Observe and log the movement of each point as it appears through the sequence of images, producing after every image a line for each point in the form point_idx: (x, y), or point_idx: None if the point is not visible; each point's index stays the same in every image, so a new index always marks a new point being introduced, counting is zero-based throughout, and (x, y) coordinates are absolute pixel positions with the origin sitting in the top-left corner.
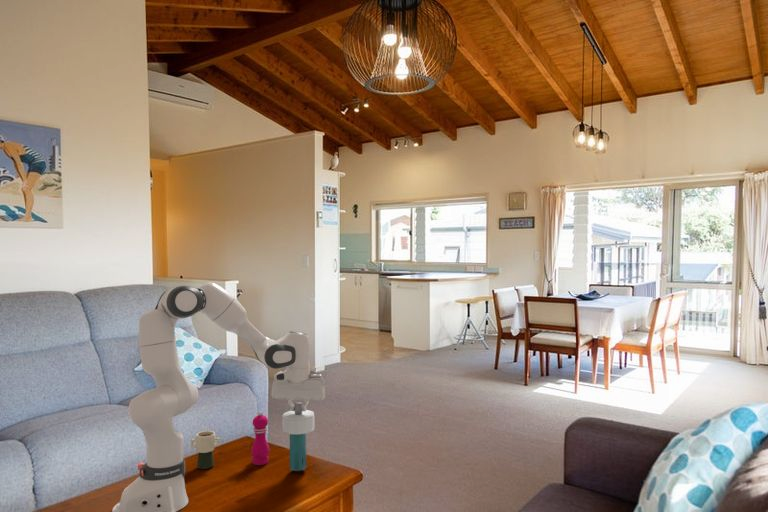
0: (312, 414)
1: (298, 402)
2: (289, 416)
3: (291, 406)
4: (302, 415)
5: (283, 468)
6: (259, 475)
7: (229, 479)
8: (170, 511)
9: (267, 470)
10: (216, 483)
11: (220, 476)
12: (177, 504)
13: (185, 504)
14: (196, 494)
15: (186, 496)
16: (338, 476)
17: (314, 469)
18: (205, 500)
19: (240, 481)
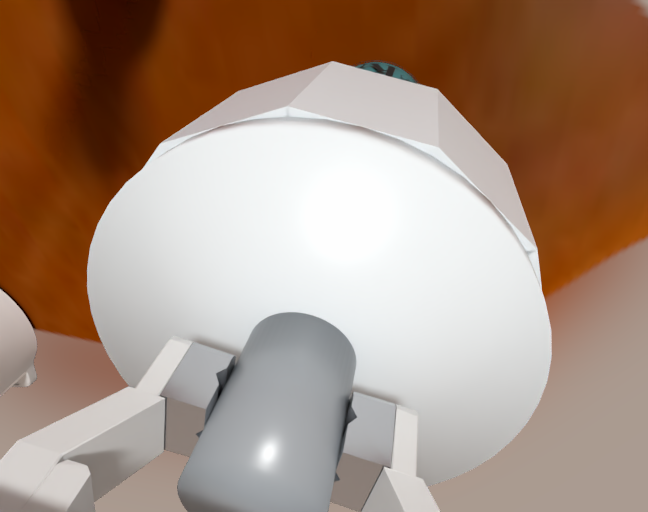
0: (511, 424)
1: (239, 470)
2: None
3: (152, 447)
4: None
5: (286, 44)
6: (179, 130)
7: (60, 157)
8: (23, 378)
9: (200, 66)
10: (30, 189)
11: (3, 116)
12: (19, 370)
13: (32, 340)
14: (16, 267)
15: (10, 333)
16: (609, 206)
17: (481, 85)
18: (72, 312)
19: (118, 185)
